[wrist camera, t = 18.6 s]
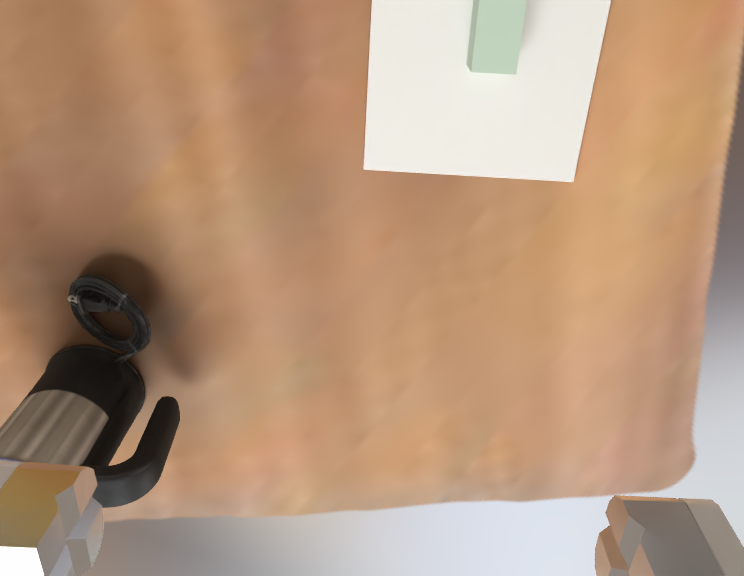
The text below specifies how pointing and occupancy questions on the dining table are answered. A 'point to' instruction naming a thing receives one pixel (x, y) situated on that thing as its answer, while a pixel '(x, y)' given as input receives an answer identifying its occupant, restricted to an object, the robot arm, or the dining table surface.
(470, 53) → the t-shaped bar
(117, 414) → the milk frother
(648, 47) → the dining table surface
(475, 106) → the mat
